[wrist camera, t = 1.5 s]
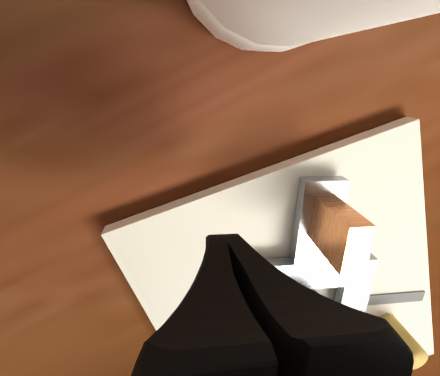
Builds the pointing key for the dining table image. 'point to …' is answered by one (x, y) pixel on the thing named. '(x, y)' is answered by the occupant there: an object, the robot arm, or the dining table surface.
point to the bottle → (300, 19)
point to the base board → (283, 227)
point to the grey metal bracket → (330, 242)
